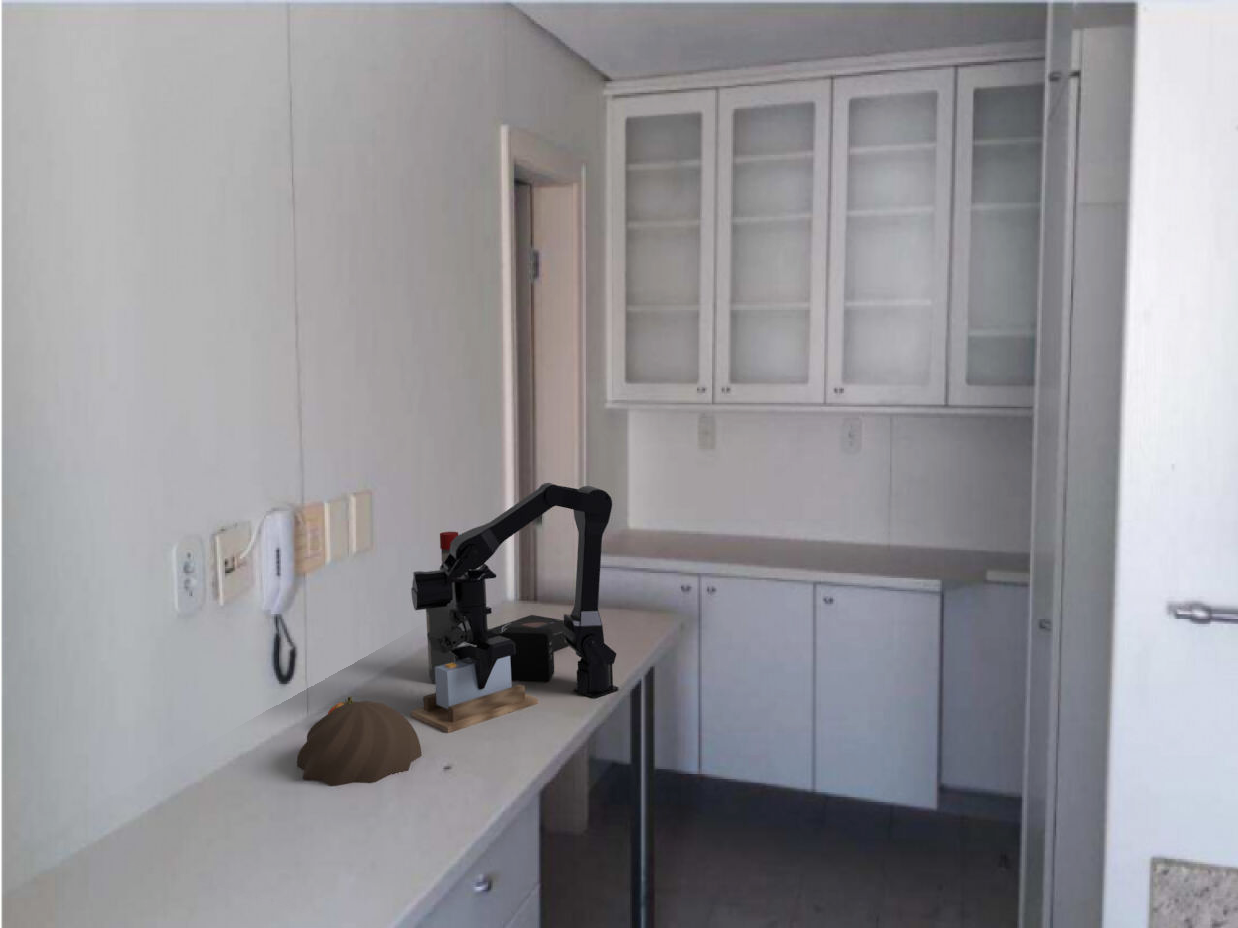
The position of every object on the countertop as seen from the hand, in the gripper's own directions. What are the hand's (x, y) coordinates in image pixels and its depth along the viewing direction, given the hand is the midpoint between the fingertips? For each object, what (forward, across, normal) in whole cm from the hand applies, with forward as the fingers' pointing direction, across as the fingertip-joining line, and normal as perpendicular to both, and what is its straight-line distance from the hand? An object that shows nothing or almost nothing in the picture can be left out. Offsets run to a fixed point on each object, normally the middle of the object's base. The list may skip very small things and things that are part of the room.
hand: (474, 686), depth 185 cm
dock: (+4, 0, 0) cm, 5 cm away
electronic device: (+5, -7, +18) cm, 20 cm away
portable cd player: (+5, -26, +35) cm, 44 cm away
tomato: (+5, -10, -20) cm, 23 cm away
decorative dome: (+5, +5, -27) cm, 28 cm away
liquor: (+5, -18, +8) cm, 20 cm away
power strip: (+2, 0, 0) cm, 2 cm away
